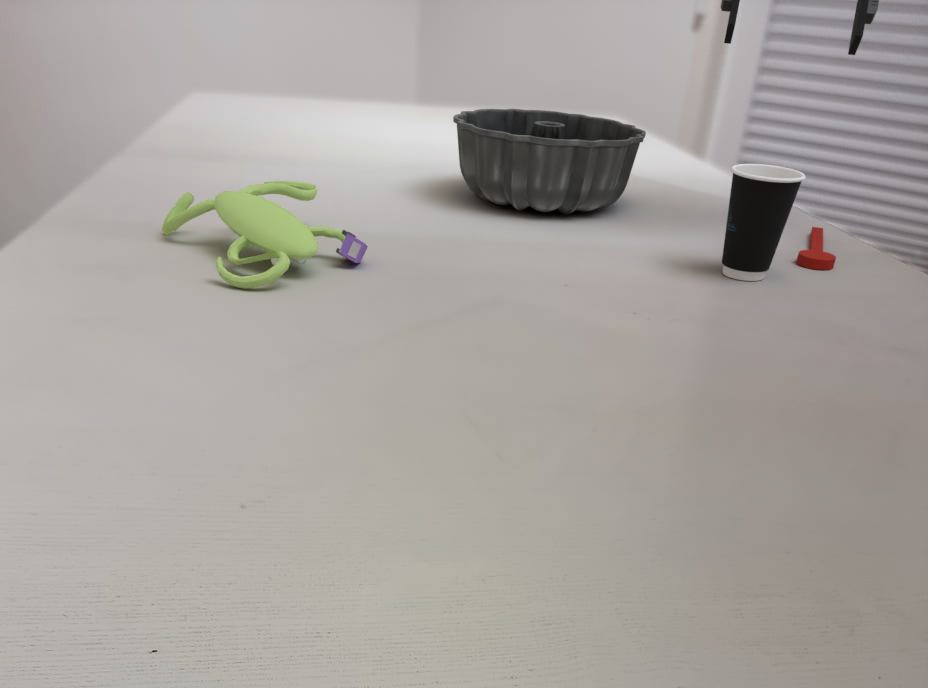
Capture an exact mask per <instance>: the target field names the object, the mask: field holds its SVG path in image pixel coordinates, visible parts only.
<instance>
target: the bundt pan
mask: <svg viewBox="0 0 928 688" xmlns="http://www.w3.org/2000/svg"><path fill="white" fill-rule="evenodd" d="M452 122H453V123H454V124H456V131H457V132H456V133H457V146H458V147H457V148H458V158H459V159H458V161H459V169H460V172H461V175H462V178H463V180H464V181H465V183H466V185H467V187H468V189H469V190H470V191H471V192H472V194H474V195H475V196H476V197H477V198H479V199H481V200H483V201H487V202H491V203H494V204H496V205H499V206H510V205H512V207H513V208H514V209H515V210H517V211H524V210H525V209H527V208H529V207H530V208H531V209H533V210H535V211H536V212H540V213H549V212H553V211H555V210H558V212H560V213H561V214H563V215H570V214H572V213H574V211H577V212H582V213H583V212H584V213H585V212H591V211H595V210H603V209H606V208H608V207H610V206H612V205H613V204H615V203H616V202H617V201H618V200H619V199H620V197H621V196H622V195H623V194H624V192H625V190H626V187H627V186H628V183H629V180H630V176H631V174H632V170H633V167H634V163H635V160H636V157H637V154H638V151H639V148H640V144H641V143H643V142H644V139H645V138H646V135H647V133H646V130H644V129H641V128H638V127H637V126H636V125H635V124H634V125H633V124H629V123H624V122H621V121H619V120H615V119H611V118H604V117H600V116H599V117H597V116H590V115H586V114H581V113H568V112H562V111H553V110H545V109H522V108H480V109H479V108H477V109H475V110H474V109H473V110H461V111H460V113H456V114H454V115H453V118H452Z"/></svg>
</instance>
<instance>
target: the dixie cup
mask: <svg viewBox="0 0 928 688" xmlns="http://www.w3.org/2000/svg"><path fill="white" fill-rule="evenodd" d="M730 170H731V172H732V178H731V185H730V186H731V187H730V193H729V195H730V196H729V201H728V210H727V217H726V226H725V233H724V242H723V248H722V249H723V250H722V256H721V257H722V258H721V264H722V265H723V266H722V274H723V275H724V276H726V277H728V278H731V279H734V280H737V281H744V282H757V281H762V280H764V278H765V276H766V273H767V271H769V270H770V267H771V264H772V263H773V259H774V257H775V254H776V252H777V248H778V246H779V244H780V241H781V239H782V235H783V233H784V230H785V227H786V224H787V222H788V219H789V216H790V214H791V211H792V208H793V206H794V203H795V201H796V198H797V195H798V192H799V190H800V187H801V185H802V182H803V181H805V179H806V175H805V173H804V172H802V171H799V170H796V169H793V168H789V167H785V166H781V165H773V164H764V163H763V164H762V163H739V164H735V165H733V166H732V167H731V169H730Z"/></svg>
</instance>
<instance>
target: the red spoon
mask: <svg viewBox="0 0 928 688" xmlns="http://www.w3.org/2000/svg"><path fill="white" fill-rule="evenodd" d="M809 237H810V238H809V249H802V250H800V251H798V254H797V258H796V264H797V265H798V266H799V267H800V266H801V267H803V268H805V269H811V270H817V271H829V270H832V269H833V268H834V266H835V263H836V259H837V257H836V255H834V254H833V253H830V252H827V251H824V228H823V227H819V226H812V227H811V231H810V235H809Z"/></svg>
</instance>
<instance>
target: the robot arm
mask: <svg viewBox="0 0 928 688" xmlns="http://www.w3.org/2000/svg"><path fill="white" fill-rule="evenodd" d="M740 1H741V0H721V3H720V9H721V12H729V14H728V19H727V26H726V30H725V36H724V41H723V43H724V44H729V45H730V44H732V41H733V36H734V32H735V26H736V23H737V18H738V12H739V7H740ZM879 2H880V0H857V1H856V6H855V12H854V18H853V22H852V29H851V34H850V41H849V45H848V51H847V55H848V56H856V54H857V51H858V49H859V47H860V44H861V42H862V39H863V37H864V32H865V25H871V24H872V23H873V21H874V19H875V18H876V17H875V16H876V14H877V12H878V8H879Z"/></svg>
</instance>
